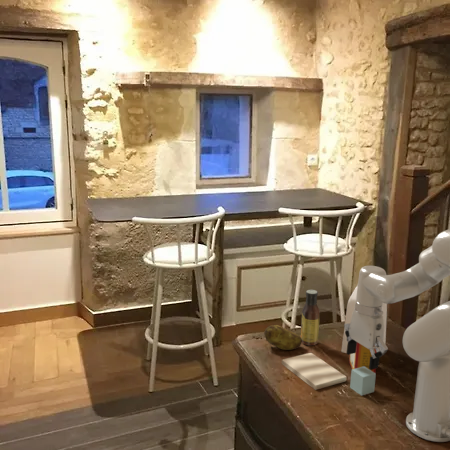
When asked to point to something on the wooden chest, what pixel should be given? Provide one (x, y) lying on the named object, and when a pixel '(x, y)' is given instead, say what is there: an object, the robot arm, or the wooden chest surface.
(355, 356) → the baking soda box
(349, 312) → the milk
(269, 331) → the potato
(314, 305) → the sauce bottle
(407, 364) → the wooden chest surface
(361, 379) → the teal block
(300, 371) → the birch board
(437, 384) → the robot arm
